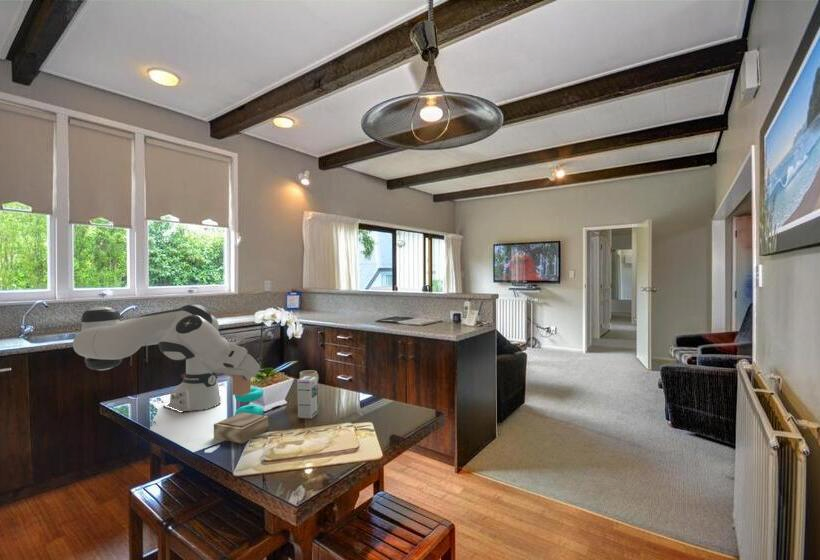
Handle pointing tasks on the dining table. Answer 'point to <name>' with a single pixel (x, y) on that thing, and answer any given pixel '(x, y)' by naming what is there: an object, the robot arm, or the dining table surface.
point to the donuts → (252, 396)
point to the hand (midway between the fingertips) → (242, 377)
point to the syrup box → (307, 397)
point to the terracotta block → (240, 385)
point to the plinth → (241, 427)
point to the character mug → (309, 374)
